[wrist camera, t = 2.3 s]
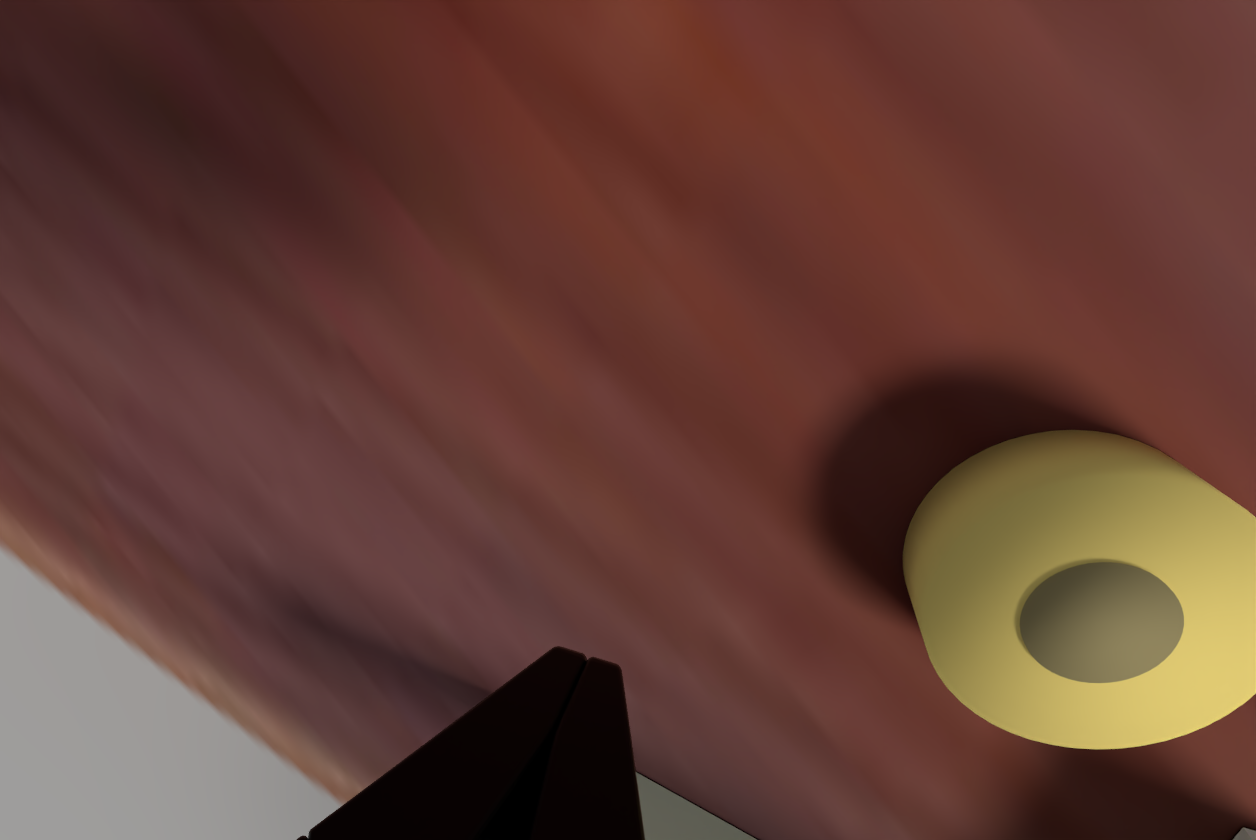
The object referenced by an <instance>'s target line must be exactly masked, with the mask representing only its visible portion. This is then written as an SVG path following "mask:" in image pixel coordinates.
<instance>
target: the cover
mask: <svg viewBox="0 0 1256 840" xmlns="http://www.w3.org/2000/svg"><path fill="white" fill-rule="evenodd" d="M636 777H637V784H638V791H639V798H640V805H641V813H642V820H643V827H644V834H645V840H757V839H755V838H753V837H751V836H750V835H748V834H746V833H744V832H743V831H741V830H739V829H737V828H735V827H734V826H732V825H730V824H728V823H726V822H725V821H723V820H721V819H719V818H717V817H716V816H714V815H712V814H710V813H708V812H707V811H705V810H703V809H701V808H699V807H698V806H696V805H694V804H692V803H690V802H689V801H687V800H685V799H683V798H682V797H680V796H678V795H676V794H674V793H673V792H671V791H669V790H667V789H665V788H664V787H662V786H660V785H658V784H656V783H655V782H653V781H651V780H649V779H647V778H646V777H644V776H642V775H640V774H638V773H637V772H636Z"/></svg>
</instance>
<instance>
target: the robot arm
mask: <svg viewBox="0 0 1256 840" xmlns="http://www.w3.org/2000/svg"><path fill="white" fill-rule="evenodd" d="M297 840H645V834H644V827H643V820H642V813H641V805H640V798H639V791H638V784H637V777H636V770H635V762H634V755H633V748H632V741H631V734H630V726H629V719H628V712H627V705H626V698H625V691H624V683H623V676H622V670H621V668H620V666H619V665H617V664H615V663H612V662H608V661H605V660H602V659H599V658H596V657H591V658H589V659H588V660H587V658H586V656H585V655H584V654H583V653H580V652H576V651H573V650H570V649H567V648H564V647H560V646H557V647H554V648H552V649H551V650H549V651H548V652H547V653H545V654H544V655H543V656H541V657H540V658H539V659H537V660H536V661H535V662H533V663H532V664H531V665H529V666H528V667H527V668H525V669H524V670H523V671H521V672H520V673H519V674H517V675H516V676H515V677H513V678H512V679H511V680H509V681H508V682H507V683H505V684H504V685H503V686H501V687H500V688H499V689H497V690H496V691H495V692H493V693H492V694H491V695H489V696H488V697H487V698H485V699H484V700H483V701H481V702H480V703H479V704H477V705H476V706H475V707H473V708H472V709H471V710H469V711H468V712H467V713H465V714H464V715H463V716H461V717H460V718H459V719H457V720H456V721H455V722H453V723H452V724H451V725H449V726H448V727H447V728H445V729H444V730H443V731H441V732H440V733H439V734H437V735H436V736H435V737H433V738H432V739H431V740H429V741H428V742H427V743H425V744H424V745H423V746H421V747H420V748H419V749H417V750H416V751H415V752H413V753H412V754H411V755H409V756H408V757H407V758H405V759H404V760H403V761H401V762H400V763H399V764H397V765H396V766H395V767H393V768H392V769H391V770H389V771H388V772H387V773H385V774H384V775H383V776H381V777H380V778H379V779H377V780H376V781H375V782H373V783H372V784H371V785H369V786H368V787H367V788H365V789H364V790H363V791H361V792H360V793H359V794H357V795H356V796H355V797H353V798H352V799H351V800H349V801H348V802H347V803H345V804H344V805H343V806H341V807H340V808H339V809H338V810H336V811H335V812H333V813H332V814H331V815H329V816H328V817H327V818H325V819H324V820H323V821H321V822H320V823H319V824H317V825H316V826H315V827H313V828H312V829H311V830H310V832H309V836H308V838H307V837H306V836H301V837H299V838H298V839H297Z"/></svg>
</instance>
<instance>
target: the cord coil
mask: <svg viewBox="0 0 1256 840" xmlns="http://www.w3.org/2000/svg"><path fill="white" fill-rule="evenodd" d="M903 572H904V578H905V583H906V586H907V590H908V593H909V596H910V599H911V602H912V605H913V609H914V612H915V615H916V618H917V621H918V624H919V627H920V631H921V634H922V637H923V640H924V643H925V646H926V649H927V652H928V655H929V658H930V661H931V663H932V664H933V666H934V668H935V670H936V672H937V674H938V676H939V677H940V678H941V680H942V681H943V682H944V684H945V685H946V687H947V688H948V689H949V690H950V691H951V692H952V693H953V694H954V695H955V696H956V697H957V699H958V700H959V701H960V702H961V703H963V704H964V705H965V706H967V707H968V708H969V709H970V710H972V711H973V712H974V713H975V714H977V715H979V716H980V717H982V718H983V719H985V720H987V721H988V722H990V723H991V724H993V725H995V726H998V727H1000V728H1002V729H1004V730H1006V731H1008V732H1010V733H1013V734H1016V735H1019V736H1022V737H1024V738H1027V739H1030V740H1034V741H1038V742H1042V743H1046V744H1050V745H1056V746H1063V747H1069V748H1081V749H1120V748H1129V747H1137V746H1144V745H1149V744H1153V743H1158V742H1163V741H1167V740H1170V739H1173V738H1176V737H1180V736H1183V735H1186V734H1189V733H1191V732H1193V731H1196V730H1198V729H1201V728H1203V727H1205V726H1208V725H1210V724H1211V723H1213V722H1215V721H1217V720H1219V719H1221V718H1222V717H1224V716H1226V715H1228V714H1229V713H1231V712H1232V711H1234V710H1235V709H1237V708H1238V707H1239V706H1241V705H1242V704H1244V703H1245V702H1247V701H1248V700H1249V699H1250V698H1251V697H1252V696H1253V695H1254V694H1255V693H1256V517H1255V516H1253V515H1252V514H1251V513H1250V512H1249V511H1247V510H1246V509H1244V508H1243V507H1242V506H1240V505H1239V504H1237V503H1236V502H1234V501H1233V500H1231V499H1230V498H1229V497H1227V496H1226V495H1224V494H1223V493H1221V492H1220V491H1219V490H1217V489H1216V488H1214V487H1213V486H1211V485H1210V484H1209V483H1207V482H1206V481H1204V480H1203V479H1201V478H1200V477H1198V476H1197V475H1196V474H1194V473H1193V472H1191V471H1190V470H1188V469H1187V468H1186V467H1184V466H1183V465H1181V464H1180V463H1178V462H1177V461H1176V460H1174V459H1172V458H1171V457H1169V456H1167V455H1166V454H1164V453H1163V452H1161V451H1159V450H1158V449H1156V448H1153V447H1151V446H1149V445H1146V444H1144V443H1142V442H1140V441H1137V440H1133V439H1130V438H1127V437H1123V436H1120V435H1116V434H1110V433H1104V432H1098V431H1086V430H1059V431H1048V432H1041V433H1035V434H1029V435H1025V436H1021V437H1018V438H1014V439H1010V440H1007V441H1005V442H1002V443H999V444H997V445H994V446H991V447H989V448H987V449H985V450H983V451H981V452H979V453H977V454H975V455H973V456H971V457H970V458H968V459H967V460H965V461H964V462H962V463H961V464H959V465H958V466H956V467H955V468H953V469H952V470H951V471H950V472H949V473H948V474H946V475H945V476H944V477H943V478H942V479H941V480H939V481H938V483H937V484H936V485H935V486H934V487H933V488H932V489H931V490H930V491H929V493H928V494H927V495H926V496H925V498H924V499H923V501H922V502H921V504H920V505H919V507H918V508H917V510H916V512H915V514H914V516H913V518H912V520H911V522H910V525H909V528H908V531H907V534H906V537H905V543H904V549H903Z"/></svg>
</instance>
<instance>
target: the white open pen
mask: <svg viewBox="0 0 1256 840" xmlns="http://www.w3.org/2000/svg"><path fill="white" fill-rule="evenodd" d="M1233 840H1256V831H1254V830H1251V829H1247V828H1244V827H1243V828H1242V829H1241V830H1240V831H1239V833H1238V834H1237V835H1236V836H1235V838H1234V839H1233Z"/></svg>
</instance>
